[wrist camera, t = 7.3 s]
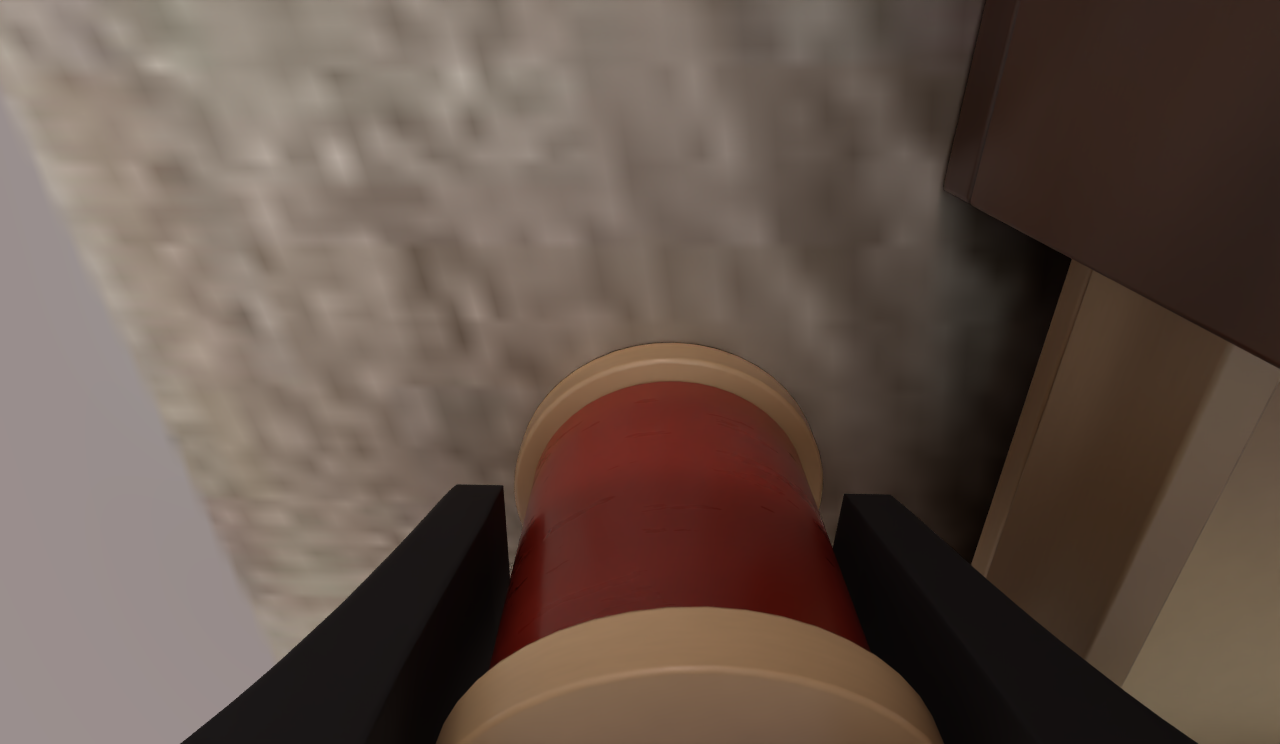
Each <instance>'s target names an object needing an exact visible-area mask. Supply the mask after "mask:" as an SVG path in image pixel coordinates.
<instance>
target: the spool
mask: <svg viewBox="0 0 1280 744" xmlns="http://www.w3.org/2000/svg"><path fill="white" fill-rule="evenodd" d="M822 491H823V467H822V462H821V458H820V453H819V449H818V447H817V444H816V442H815V439H814V436H813V434H812V432H811V429H810V427H809V424H808V422H807V420H806V418H805V416H804V414H803V413H802V411H801V409H800V407H799V406H798V404H797V403H796V401H795V400H794V399H793V398H792V396H791V395H790V394H789V393H788V391H787V390H786V389H785V388H784V387H783V386H782V385H781V384H779V383H778V382H777V381H776V380H775V379H774V378H773V377H772V376H770V375H769V374H767V373H766V372H765V371H763V370H762V369H760V368H759V367H757V366H756V365H754V364H752V363H750V362H748V361H746V360H744V359H742V358H740V357H738V356H735V355H733V354H730V353H727V352H724V351H721V350H719V349H714V348H710V347H705V346H701V345H694V344H684V343H654V344H647V345H640V346H634V347H630V348H626V349H622V350H619V351H615V352H612V353H610V354H607V355H605V356H602V357H600V358H597V359H595V360H593V361H591V362H590V363H588V364H586V365H584V366H582V367H581V368H579V369H577V370H576V371H574V372H573V373H572V374H570V375H569V376H568V377H566V378H565V379H564V380H562V381H561V382H560V383H559V384H558V385H557V386H556V387H555V388H554V389H553V390H552V391H551V392H550V393H549V394H548V395H547V396H546V398H545V399H544V400H543V401H542V403H541V404H540V405H539V407H538V408H537V410H536V411H535V413H534V415H533V417H532V419H531V420H530V422H529V424H528V427H527V429H526V432H525V435H524V438H523V441H522V444H521V448H520V451H519V454H518V458H517V464H516V469H515V476H514V493H515V501H516V507H517V511H518V514H519V517H520V521H521V524H522V526H523V527H522V532H521V536H520V540H519V544H518V549H517V553H516V557H515V561H514V565H513V570H512V574H511V578H510V582H509V587H508V591H507V595H506V599H505V603H504V608H503V612H502V616H501V620H500V625H499V629H498V633H497V637H496V641H495V646H494V650H493V654H492V658H491V663H490V667H489V671H487V672H486V673H485V674H484V675H483V676H481V677H480V678H479V679H478V680H477V681H476V682H475V683H474V684H473V685H472V686H471V687H470V688H469V689H468V691H467V692H466V693H465V694H464V695H463V696H462V697H461V698H460V699H459V701H458V702H457V703H456V705H455V706H454V708H453V709H452V711H451V713H450V714H449V716H448V717H447V719H446V720H445V722H444V724H443V726H442V729H441V731H440V734H439V736H438V739H437V742H436V744H944V742H943V740H942V738H941V735H940V733H939V731H938V728H937V726H936V723H935V721H934V719H933V716H932V715H931V713H930V712H929V710H928V708H927V707H926V705H925V704H924V702H923V700H922V699H921V697H920V696H919V695H918V693H917V692H916V691H915V690H914V689H913V688H912V687H911V686H910V685H909V684H908V683H907V681H906V680H905V679H904V678H903V677H902V676H901V675H900V674H899V673H898V672H896V671H895V670H894V669H893V668H891V667H890V666H889V665H888V664H886V663H885V662H884V661H883V660H881V659H880V658H879V657H877V656H876V655H875V654H873V653H871V651H870V648H869V645H868V643H867V640H866V637H865V635H864V632H863V629H862V626H861V624H860V621H859V618H858V616H857V613H856V610H855V608H854V605H853V602H852V599H851V597H850V594H849V591H848V589H847V586H846V583H845V580H844V578H843V575H842V572H841V570H840V567H839V564H838V562H837V559H836V556H835V553H834V551H833V548H832V545H831V543H830V540H829V537H828V535H827V532H826V529H825V526H824V524H823V521H822V518H821V516H820V513H819V507H820V504H821V499H822Z"/></svg>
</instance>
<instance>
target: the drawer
mask: <svg viewBox="0 0 1280 744" xmlns="http://www.w3.org/2000/svg"><path fill="white" fill-rule="evenodd" d="M971 566H973V567H974V568H975V569H976V570H977V571H978V572H979V573H981V574H982V575H983V576H984V577H985V578H986V579H987V580H989V581H990V582H991V583H992V584H993V585H994V586H996V587H997V588H998V589H999V590H1000V591H1001V592H1003V593H1004V594H1005V595H1006V596H1007V597H1008V598H1010V599H1011V600H1012V601H1013V602H1014V603H1015V604H1017V605H1018V606H1019V607H1020V608H1021V609H1023V610H1024V611H1025V612H1026V613H1027V614H1028V615H1030V616H1031V617H1032V618H1033V619H1034V620H1036V621H1037V622H1038V623H1039V624H1041V625H1042V626H1043V627H1044V628H1045V629H1047V630H1048V631H1049V632H1050V633H1052V634H1053V635H1054V636H1055V637H1056V638H1058V639H1059V640H1060V641H1061V642H1063V643H1064V644H1065V645H1066V646H1068V647H1069V648H1070V649H1072V650H1073V651H1074V652H1075V653H1077V654H1078V655H1079V656H1081V657H1082V658H1083V659H1084V660H1086V661H1087V662H1088V663H1089V664H1091V665H1092V666H1093V667H1095V668H1096V669H1097V670H1098V671H1100V672H1101V673H1102V674H1104V675H1105V676H1106V677H1107V678H1109V679H1110V680H1111V681H1113V682H1114V683H1115V684H1116V685H1118V686H1119V687H1120V688H1122V689H1123V690H1124V691H1126V692H1127V693H1128V694H1130V695H1131V696H1132V697H1134V698H1135V699H1136V700H1138V701H1139V702H1140V703H1142V704H1143V705H1145V706H1146V707H1147V708H1149V709H1150V710H1151V711H1153V712H1154V713H1155V714H1157V715H1158V716H1160V717H1161V718H1162V719H1164V720H1165V721H1167V722H1168V723H1170V724H1171V725H1172V726H1174V727H1175V728H1177V729H1178V730H1180V731H1181V732H1182V733H1184V734H1185V735H1187V736H1188V737H1190V738H1191V739H1193V740H1194V741H1195V742H1197V743H1198V744H1280V369H1279V368H1277V367H1275V366H1273V365H1271V364H1269V363H1267V362H1266V361H1264V360H1262V359H1260V358H1258V357H1256V356H1254V355H1252V354H1250V353H1249V352H1247V351H1245V350H1243V349H1241V348H1239V347H1237V346H1235V345H1233V344H1232V343H1230V342H1228V341H1226V340H1224V339H1222V338H1220V337H1218V336H1217V335H1215V334H1213V333H1211V332H1209V331H1207V330H1205V329H1203V328H1201V327H1200V326H1198V325H1196V324H1194V323H1192V322H1190V321H1188V320H1186V319H1185V318H1183V317H1181V316H1179V315H1177V314H1175V313H1173V312H1171V311H1169V310H1168V309H1166V308H1164V307H1162V306H1160V305H1158V304H1156V303H1154V302H1152V301H1151V300H1149V299H1147V298H1145V297H1143V296H1141V295H1139V294H1137V293H1136V292H1134V291H1132V290H1130V289H1128V288H1126V287H1124V286H1122V285H1120V284H1119V283H1117V282H1115V281H1113V280H1111V279H1109V278H1107V277H1105V276H1103V275H1102V274H1100V273H1098V272H1096V271H1094V270H1092V269H1090V268H1088V267H1087V266H1085V265H1083V264H1081V263H1079V262H1077V261H1075V260H1073V259H1072V261H1071V264H1070V267H1069V270H1068V273H1067V276H1066V279H1065V282H1064V285H1063V288H1062V291H1061V294H1060V297H1059V300H1058V303H1057V306H1056V309H1055V312H1054V315H1053V318H1052V321H1051V324H1050V327H1049V330H1048V333H1047V336H1046V339H1045V342H1044V345H1043V348H1042V351H1041V355H1040V358H1039V361H1038V364H1037V367H1036V370H1035V373H1034V376H1033V379H1032V382H1031V385H1030V388H1029V391H1028V394H1027V397H1026V400H1025V403H1024V406H1023V409H1022V412H1021V415H1020V418H1019V421H1018V424H1017V427H1016V430H1015V433H1014V436H1013V439H1012V442H1011V445H1010V448H1009V451H1008V455H1007V458H1006V461H1005V464H1004V467H1003V470H1002V473H1001V476H1000V479H999V482H998V485H997V488H996V491H995V494H994V497H993V500H992V503H991V506H990V509H989V512H988V515H987V518H986V521H985V524H984V527H983V530H982V533H981V536H980V539H979V542H978V545H977V548H976V551H975V555H974V558H973V561H972V564H971Z"/></svg>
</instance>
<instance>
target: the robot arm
mask: <svg viewBox="0 0 1280 744" xmlns="http://www.w3.org/2000/svg"><path fill="white" fill-rule="evenodd" d="M833 551H834V553H835V556H836V559H837V562H838V564H839V567H840V570H841V572H842V575H843V578H844V580H845V583H846V586H847V589H848V591H849V594H850V597H851V599H852V602H853V605H854V608H855V610H856V613H857V616H858V618H859V621H860V624H861V626H862V629H863V632H864V635H865V637H866V640H867V643H868V645H869V648H870V651H871V653H873V654H875V655H876V656H877V657H879V658H880V659H881V660H883V661H884V662H885V663H886V664H888V665H889V666H890V667H891V668H893V669H894V670H895V671H896V672H898V673H899V674H900V675H901V676H902V677H903V678H904V679H905V680H906V681H907V683H908V684H909V685H910V686H911V687H912V688H913V689H914V690H915V691H916V692H917V693H918V695H919V696H920V697H921V699H922V700H923V702H924V704H925V705H926V707H927V708H928V710H929V712H930V713H931V715H932V716H933V719H934V721H935V723H936V726H937V728H938V731H939V733H940V735H941V738H942V740H943V742H944V744H1198V743H1197V742H1195V741H1194V740H1193V739H1191V738H1190V737H1188V736H1187V735H1185V734H1184V733H1182V732H1181V731H1180V730H1178V729H1177V728H1175V727H1174V726H1172V725H1171V724H1170V723H1168V722H1167V721H1165V720H1164V719H1162V718H1161V717H1160V716H1158V715H1157V714H1155V713H1154V712H1153V711H1151V710H1150V709H1149V708H1147V707H1146V706H1145V705H1143V704H1142V703H1140V702H1139V701H1138V700H1136V699H1135V698H1134V697H1132V696H1131V695H1130V694H1128V693H1127V692H1126V691H1124V690H1123V689H1122V688H1120V687H1119V686H1118V685H1116V684H1115V683H1114V682H1113V681H1111V680H1110V679H1109V678H1107V677H1106V676H1105V675H1104V674H1102V673H1101V672H1100V671H1098V670H1097V669H1096V668H1095V667H1093V666H1092V665H1091V664H1089V663H1088V662H1087V661H1086V660H1084V659H1083V658H1082V657H1081V656H1079V655H1078V654H1077V653H1075V652H1074V651H1073V650H1072V649H1070V648H1069V647H1068V646H1066V645H1065V644H1064V643H1063V642H1061V641H1060V640H1059V639H1058V638H1056V637H1055V636H1054V635H1053V634H1052V633H1050V632H1049V631H1048V630H1047V629H1045V628H1044V627H1043V626H1042V625H1041V624H1039V623H1038V622H1037V621H1036V620H1034V619H1033V618H1032V617H1031V616H1030V615H1028V614H1027V613H1026V612H1025V611H1024V610H1023V609H1021V608H1020V607H1019V606H1018V605H1017V604H1015V603H1014V602H1013V601H1012V600H1011V599H1010V598H1008V597H1007V596H1006V595H1005V594H1004V593H1003V592H1001V591H1000V590H999V589H998V588H997V587H996V586H994V585H993V584H992V583H991V582H990V581H989V580H987V579H986V578H985V577H984V576H983V575H982V574H981V573H979V572H978V571H977V570H976V569H975V568H974V567H973V566H971V565H970V564H969V563H968V562H967V561H966V560H965V559H964V558H962V557H961V556H960V555H959V554H958V553H957V552H956V551H955V550H953V549H952V548H951V547H950V546H949V545H948V544H947V543H946V542H944V541H943V540H942V539H941V538H940V537H939V536H938V535H937V534H935V533H934V532H933V531H932V530H931V529H930V528H929V527H928V526H926V525H925V524H924V523H923V522H922V521H921V520H920V519H919V518H917V517H916V516H915V515H914V514H913V513H912V512H911V511H909V510H908V509H907V508H906V507H905V506H904V505H902V504H901V503H900V502H899V501H898V500H896V499H895V498H894V497H893V496H891V495H882V494H844V497H843V502H842V507H841V511H840V516H839V521H838V526H837V531H836V536H835V540H834V545H833ZM509 582H510V570H509V557H508V543H507V530H506V516H505V502H504V489H503V485H461V484H457V485H455V486H454V487H453V488H452V489H451V490H450V491H449V492H448V493H447V494H446V495H445V496H444V497H443V498H442V499H441V500H440V501H439V502H438V503H437V505H436V506H435V507H434V508H433V509H432V510H431V511H430V512H429V513H428V514H427V516H426V517H425V518H424V519H423V520H422V521H421V522H420V523H419V524H418V525H417V526H416V527H415V529H414V530H413V531H412V532H411V533H410V534H409V535H408V536H407V537H406V538H405V539H404V540H403V541H402V542H401V544H400V545H399V546H398V547H397V548H396V549H395V550H394V551H393V552H392V553H391V554H390V555H389V556H388V557H387V558H386V559H385V560H384V561H383V562H382V563H381V564H380V565H379V566H378V567H377V568H376V569H375V570H374V571H373V572H372V574H371V575H370V576H369V577H368V578H367V579H366V580H365V581H364V582H363V583H362V584H361V585H360V586H359V587H358V588H357V589H356V590H355V591H354V592H353V593H352V594H351V595H350V596H349V597H348V598H347V599H346V600H345V601H344V602H343V603H342V604H341V605H340V606H339V607H338V608H336V609H335V610H334V611H333V612H332V613H331V614H330V615H329V616H328V617H327V618H326V619H325V620H324V621H323V622H321V623H320V624H319V625H318V626H317V627H316V628H315V629H314V630H313V631H312V632H311V633H310V634H308V635H307V636H306V637H305V638H304V639H303V640H302V641H301V642H300V643H299V644H298V645H297V646H295V647H294V648H293V649H292V650H291V651H290V652H289V653H288V654H287V655H286V656H285V657H284V658H282V659H281V660H280V661H279V662H278V663H277V664H276V665H275V666H274V667H272V668H271V669H270V670H269V671H268V672H267V673H266V674H264V675H263V676H262V677H261V678H260V679H259V680H257V682H255V683H254V684H253V685H252V686H250V687H249V688H248V689H247V690H246V691H245V692H243V693H242V694H241V695H240V696H239V697H238V698H236V699H235V700H234V701H233V702H231V703H230V704H229V705H228V706H227V707H225V708H224V709H223V710H222V711H220V712H219V713H218V714H217V715H216V716H214V717H213V718H212V719H211V720H210V721H208V722H207V723H206V724H204V725H203V726H202V727H201V728H199V729H198V730H197V731H196V732H194V733H193V734H192V735H191V736H190V737H188V738H187V739H186V740H184V741H183V742H182V743H181V744H436V742H437V739H438V736H439V734H440V731H441V729H442V726H443V724H444V722H445V720H446V719H447V717H448V716H449V714H450V713H451V711H452V709H453V708H454V706H455V705H456V703H457V702H458V701H459V699H460V698H461V697H462V696H463V695H464V694H465V693H466V692H467V691H468V689H469V688H470V687H471V686H472V685H473V684H474V683H475V682H476V681H477V680H478V679H479V678H480V677H481V676H483V675H484V674H485V673H486V672H487V671H489V667H490V663H491V658H492V654H493V650H494V646H495V641H496V637H497V633H498V629H499V625H500V620H501V616H502V612H503V608H504V603H505V599H506V595H507V591H508V587H509Z"/></svg>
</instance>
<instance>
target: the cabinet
mask: <svg viewBox="0 0 1280 744" xmlns="http://www.w3.org/2000/svg"><path fill="white" fill-rule="evenodd" d="M944 190H945V191H947V192H948V193H950V194H952V195H954V196H956V197H958V198H960V199H962V200H964V201H965V202H967V203H969V204H971V205H972V206H973V207H975V208H977V209H979V210H981V211H983V212H985V213H987V214H989V215H990V216H992V217H994V218H996V219H998V220H1000V221H1002V222H1004V223H1005V224H1007V225H1009V226H1011V227H1013V228H1015V229H1017V230H1019V231H1021V232H1022V233H1024V234H1026V235H1028V236H1030V237H1032V238H1034V239H1036V240H1038V241H1039V242H1041V243H1043V244H1045V245H1047V246H1049V247H1051V248H1053V249H1054V250H1056V251H1058V252H1060V253H1062V254H1064V255H1066V256H1068V257H1070V258H1071V259H1073V260H1075V261H1077V262H1079V263H1081V264H1083V265H1085V266H1087V267H1088V268H1090V269H1092V270H1094V271H1096V272H1098V273H1100V274H1102V275H1103V276H1105V277H1107V278H1109V279H1111V280H1113V281H1115V282H1117V283H1119V284H1120V285H1122V286H1124V287H1126V288H1128V289H1130V290H1132V291H1134V292H1136V293H1137V294H1139V295H1141V296H1143V297H1145V298H1147V299H1149V300H1151V301H1152V302H1154V303H1156V304H1158V305H1160V306H1162V307H1164V308H1166V309H1168V310H1169V311H1171V312H1173V313H1175V314H1177V315H1179V316H1181V317H1183V318H1185V319H1186V320H1188V321H1190V322H1192V323H1194V324H1196V325H1198V326H1200V327H1201V328H1203V329H1205V330H1207V331H1209V332H1211V333H1213V334H1215V335H1217V336H1218V337H1220V338H1222V339H1224V340H1226V341H1228V342H1230V343H1232V344H1233V345H1235V346H1237V347H1239V348H1241V349H1243V350H1245V351H1247V352H1249V353H1250V354H1252V355H1254V356H1256V357H1258V358H1260V359H1262V360H1264V361H1266V362H1267V363H1269V364H1271V365H1273V366H1275V367H1277V368H1279V369H1280V0H986V4H985V8H984V13H983V17H982V21H981V26H980V30H979V34H978V39H977V43H976V47H975V52H974V56H973V61H972V65H971V69H970V74H969V78H968V82H967V87H966V91H965V95H964V100H963V104H962V108H961V113H960V117H959V121H958V126H957V130H956V134H955V139H954V143H953V147H952V152H951V156H950V161H949V165H948V169H947V174H946V178H945V182H944Z"/></svg>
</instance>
